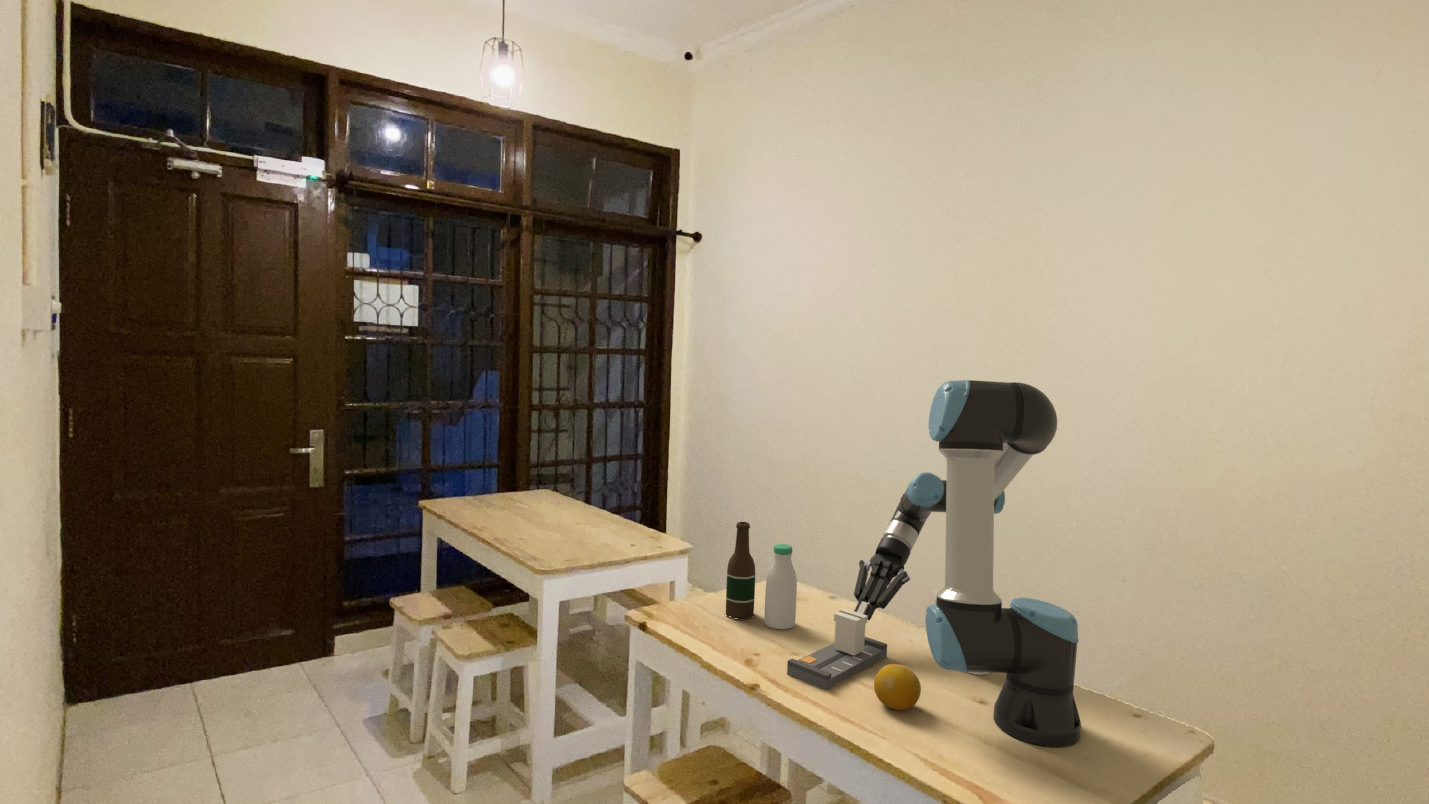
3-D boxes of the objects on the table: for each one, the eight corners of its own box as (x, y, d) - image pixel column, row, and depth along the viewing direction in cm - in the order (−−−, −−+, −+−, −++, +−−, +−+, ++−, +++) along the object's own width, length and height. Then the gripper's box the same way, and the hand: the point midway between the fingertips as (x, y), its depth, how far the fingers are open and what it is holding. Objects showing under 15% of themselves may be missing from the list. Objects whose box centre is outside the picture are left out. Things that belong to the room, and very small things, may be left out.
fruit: (921, 702, 151) (924, 663, 150) (916, 720, 144) (919, 680, 143) (876, 693, 154) (879, 655, 154) (869, 710, 147) (871, 670, 146)
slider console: (848, 643, 179) (849, 631, 179) (886, 656, 172) (887, 644, 172) (787, 674, 162) (787, 660, 161) (826, 690, 155) (826, 675, 155)
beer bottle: (759, 612, 197) (763, 521, 195) (747, 622, 190) (751, 528, 188) (731, 607, 201) (735, 517, 199) (719, 616, 193) (723, 523, 191)
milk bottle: (799, 629, 187) (803, 549, 185) (769, 631, 185) (773, 550, 183) (789, 618, 194) (792, 541, 193) (760, 619, 192) (763, 542, 191)
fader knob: (843, 642, 173) (845, 608, 173) (865, 650, 169) (867, 615, 169) (832, 648, 170) (834, 613, 169) (854, 656, 166) (856, 620, 165)
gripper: (926, 559, 181) (886, 646, 170) (878, 547, 190) (837, 629, 179) (916, 541, 176) (874, 629, 166) (867, 530, 185) (825, 613, 175)
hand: (855, 629), depth 172 cm, fingers closed
